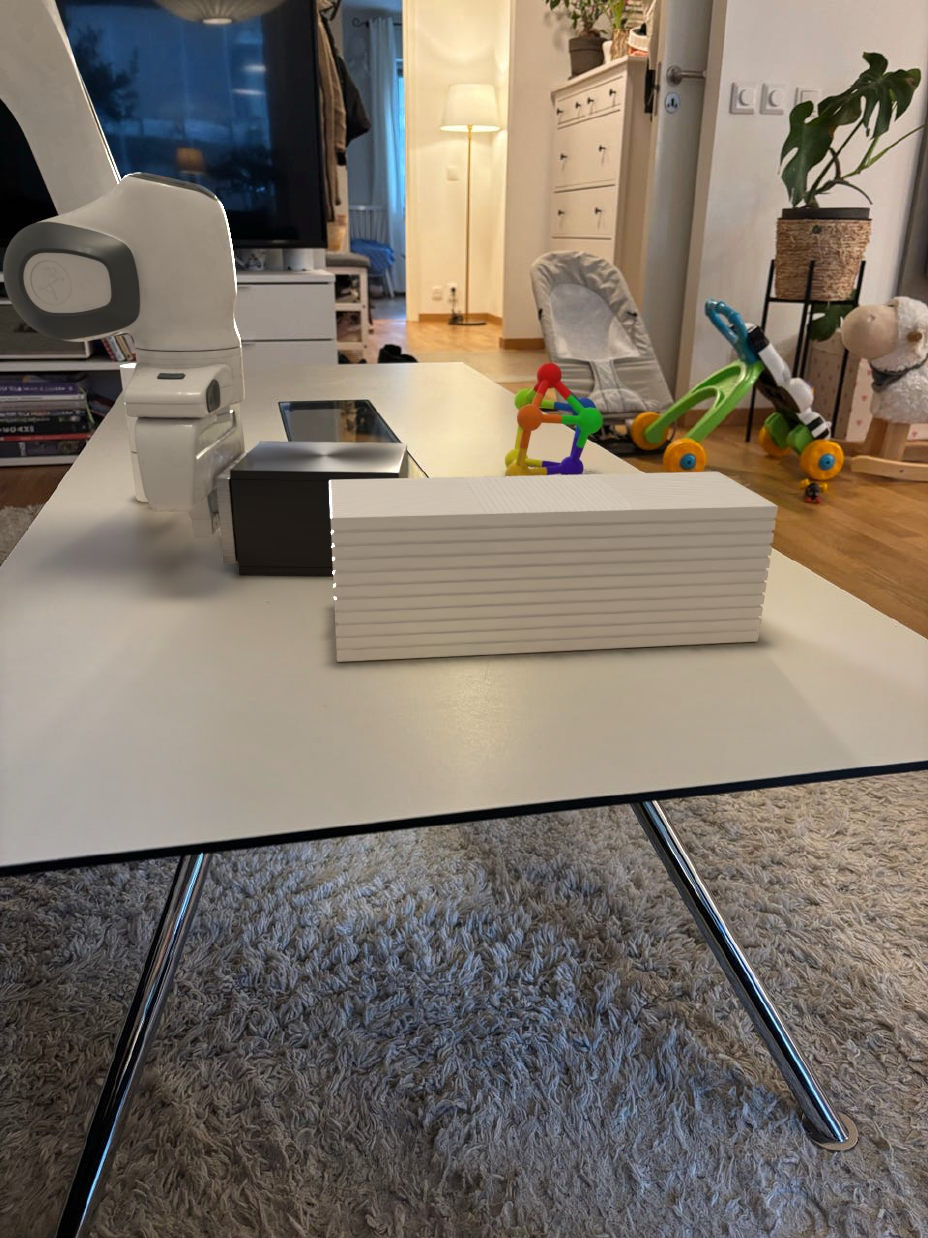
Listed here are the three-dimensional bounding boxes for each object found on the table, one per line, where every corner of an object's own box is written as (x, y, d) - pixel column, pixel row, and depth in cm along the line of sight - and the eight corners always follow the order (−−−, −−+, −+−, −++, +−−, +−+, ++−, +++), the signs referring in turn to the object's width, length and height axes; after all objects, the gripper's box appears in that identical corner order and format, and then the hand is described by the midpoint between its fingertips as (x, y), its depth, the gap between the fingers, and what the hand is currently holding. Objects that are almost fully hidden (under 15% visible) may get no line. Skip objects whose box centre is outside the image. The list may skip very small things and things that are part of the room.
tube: (164, 503, 104) (149, 368, 98) (129, 501, 105) (112, 367, 99) (181, 494, 108) (167, 363, 102) (147, 492, 109) (131, 362, 103)
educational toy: (612, 498, 113) (625, 376, 106) (510, 501, 111) (517, 377, 104) (578, 459, 126) (588, 349, 119) (487, 461, 124) (491, 349, 117)
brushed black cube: (238, 575, 82) (229, 470, 78) (266, 533, 94) (259, 441, 90) (400, 577, 82) (398, 472, 78) (408, 535, 94) (407, 442, 90)
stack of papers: (703, 592, 79) (718, 471, 75) (757, 642, 70) (778, 505, 66) (334, 607, 75) (329, 479, 71) (336, 662, 65) (330, 517, 61)
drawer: (209, 563, 82) (201, 478, 79) (238, 526, 93) (232, 450, 90) (372, 565, 82) (369, 480, 79) (382, 528, 93) (380, 452, 90)
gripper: (189, 365, 89) (203, 503, 94) (115, 398, 70) (137, 568, 75) (254, 366, 89) (264, 503, 94) (197, 399, 70) (213, 569, 75)
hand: (207, 533), depth 85 cm, fingers closed
